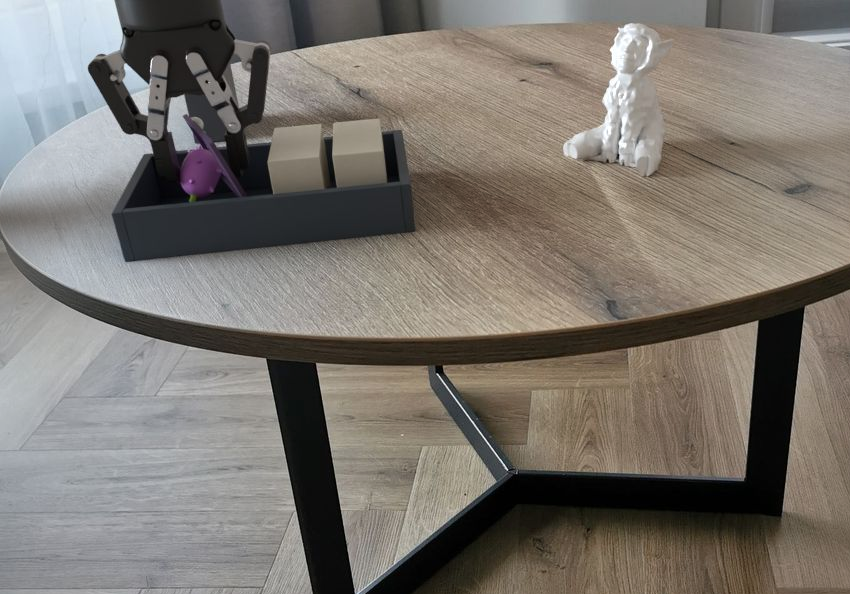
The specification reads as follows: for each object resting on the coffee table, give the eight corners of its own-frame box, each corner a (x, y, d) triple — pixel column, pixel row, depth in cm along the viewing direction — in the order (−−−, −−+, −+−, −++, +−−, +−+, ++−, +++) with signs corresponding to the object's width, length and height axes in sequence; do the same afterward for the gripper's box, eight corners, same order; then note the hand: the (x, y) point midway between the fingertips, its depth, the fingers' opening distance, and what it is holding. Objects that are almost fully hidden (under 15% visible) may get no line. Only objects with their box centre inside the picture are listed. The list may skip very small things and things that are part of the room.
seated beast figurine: (559, 162, 90) (557, 30, 83) (604, 134, 96) (605, 9, 89) (651, 179, 85) (655, 40, 79) (692, 149, 91) (699, 18, 84)
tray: (126, 268, 74) (111, 213, 72) (156, 203, 86) (143, 153, 84) (416, 238, 76) (410, 183, 74) (407, 178, 88) (401, 129, 86)
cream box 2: (342, 226, 78) (332, 155, 75) (342, 188, 85) (333, 122, 82) (391, 221, 78) (383, 150, 75) (387, 183, 85) (380, 117, 82)
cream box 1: (280, 232, 77) (267, 161, 74) (286, 194, 85) (274, 127, 82) (330, 227, 78) (319, 156, 75) (331, 189, 85) (321, 123, 82)
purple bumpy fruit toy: (221, 136, 73) (193, 108, 80) (162, 172, 72) (138, 140, 79) (265, 207, 77) (234, 174, 84) (209, 241, 76) (182, 205, 83)
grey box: (194, 143, 100) (179, 76, 96) (204, 120, 107) (190, 56, 103) (233, 139, 100) (220, 72, 97) (240, 117, 107) (228, 53, 104)
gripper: (43, -29, 66) (108, 203, 75) (253, -45, 67) (293, 185, 76) (70, -46, 72) (127, 170, 81) (261, -60, 74) (297, 153, 82)
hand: (207, 176), depth 79 cm, fingers closed on purple bumpy fruit toy, 4 cm apart
